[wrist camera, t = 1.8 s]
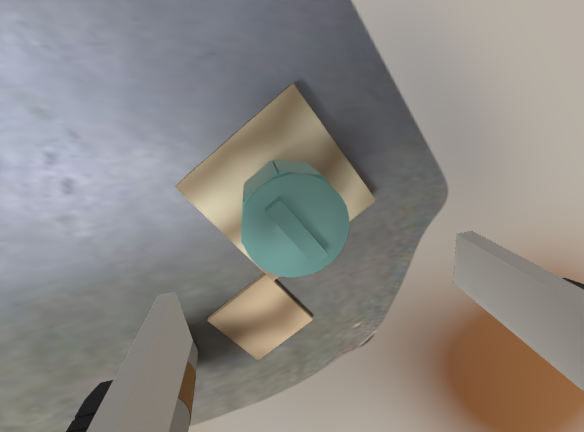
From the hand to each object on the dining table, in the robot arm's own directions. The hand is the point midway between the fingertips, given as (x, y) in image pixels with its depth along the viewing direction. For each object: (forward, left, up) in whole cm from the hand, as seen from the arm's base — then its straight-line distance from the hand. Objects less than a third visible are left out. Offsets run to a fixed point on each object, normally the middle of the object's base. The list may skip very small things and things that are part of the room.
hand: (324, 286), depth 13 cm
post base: (0, 0, -17) cm, 17 cm away
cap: (0, 0, -12) cm, 12 cm away
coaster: (+11, -12, -17) cm, 24 cm away
